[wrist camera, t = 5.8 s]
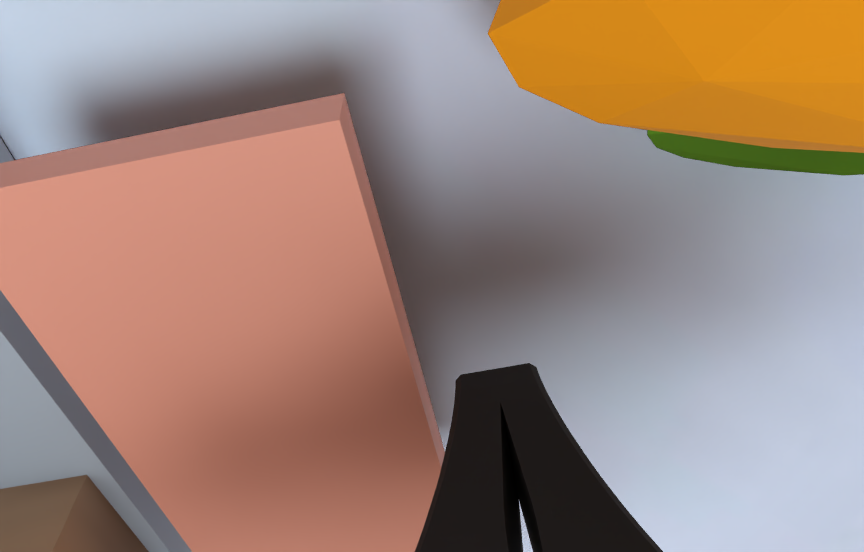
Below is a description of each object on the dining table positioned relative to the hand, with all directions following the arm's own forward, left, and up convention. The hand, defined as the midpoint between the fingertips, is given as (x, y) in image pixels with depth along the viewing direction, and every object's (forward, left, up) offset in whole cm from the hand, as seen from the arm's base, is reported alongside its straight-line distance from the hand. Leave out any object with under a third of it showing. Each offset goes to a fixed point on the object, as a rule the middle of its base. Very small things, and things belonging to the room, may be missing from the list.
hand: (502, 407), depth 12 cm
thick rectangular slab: (0, +7, -1) cm, 8 cm away
